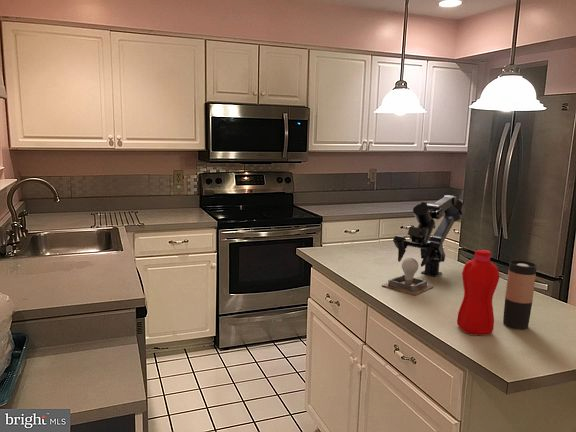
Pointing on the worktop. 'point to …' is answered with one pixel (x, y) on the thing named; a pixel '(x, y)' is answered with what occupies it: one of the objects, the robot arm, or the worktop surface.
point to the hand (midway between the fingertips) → (409, 263)
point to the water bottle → (478, 295)
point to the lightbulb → (409, 269)
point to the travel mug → (519, 294)
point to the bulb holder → (414, 289)
